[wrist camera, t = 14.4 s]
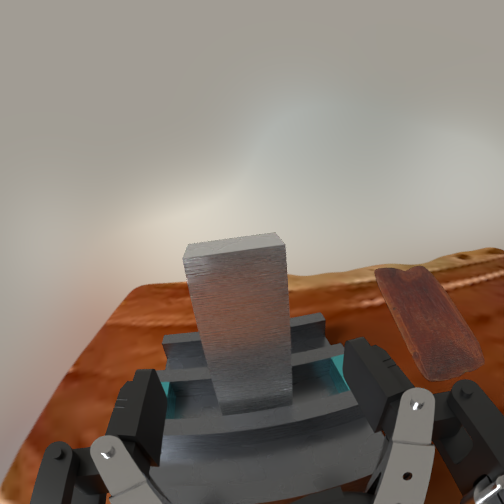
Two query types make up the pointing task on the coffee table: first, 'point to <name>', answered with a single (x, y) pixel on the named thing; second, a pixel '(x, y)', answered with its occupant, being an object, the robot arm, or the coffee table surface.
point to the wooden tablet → (429, 323)
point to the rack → (263, 429)
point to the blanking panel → (243, 319)
